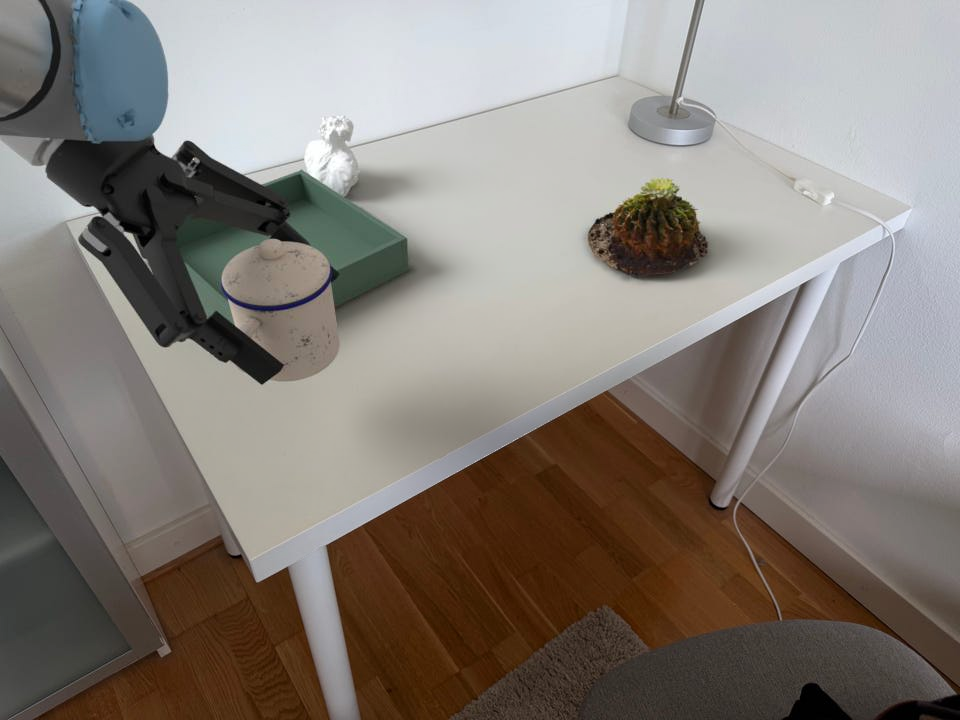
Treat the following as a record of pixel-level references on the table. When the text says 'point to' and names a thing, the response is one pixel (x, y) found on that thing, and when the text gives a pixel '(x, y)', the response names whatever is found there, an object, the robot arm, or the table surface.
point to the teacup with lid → (285, 305)
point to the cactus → (649, 232)
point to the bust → (333, 155)
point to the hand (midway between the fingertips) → (303, 325)
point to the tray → (315, 216)
